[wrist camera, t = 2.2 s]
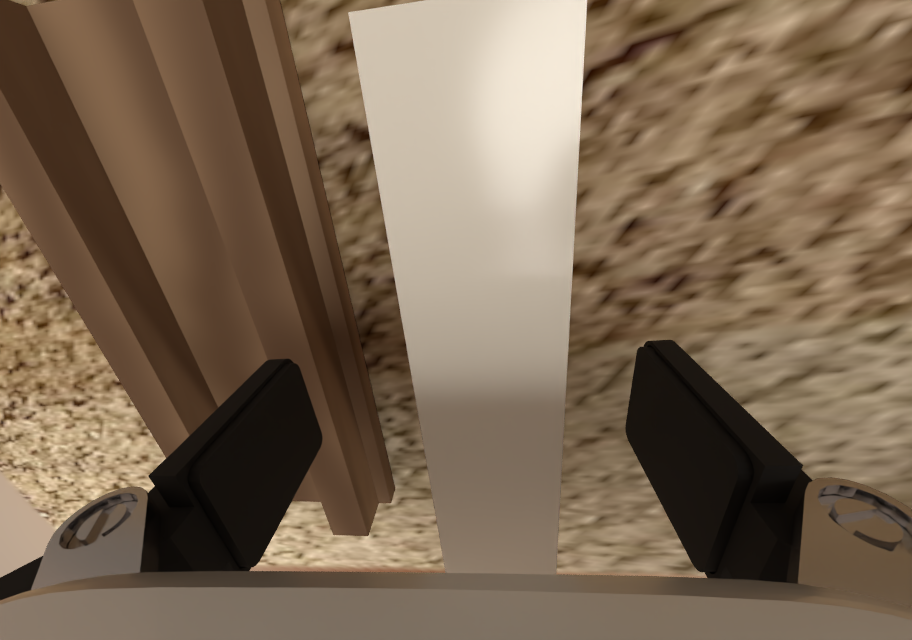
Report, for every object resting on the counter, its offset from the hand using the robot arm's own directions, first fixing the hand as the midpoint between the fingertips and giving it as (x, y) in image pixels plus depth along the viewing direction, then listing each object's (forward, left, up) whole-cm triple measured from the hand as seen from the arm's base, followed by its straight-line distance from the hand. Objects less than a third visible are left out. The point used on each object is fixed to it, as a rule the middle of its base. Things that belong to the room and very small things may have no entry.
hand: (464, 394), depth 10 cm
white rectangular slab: (-1, 0, -7) cm, 7 cm away
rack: (+11, 0, -7) cm, 13 cm away
